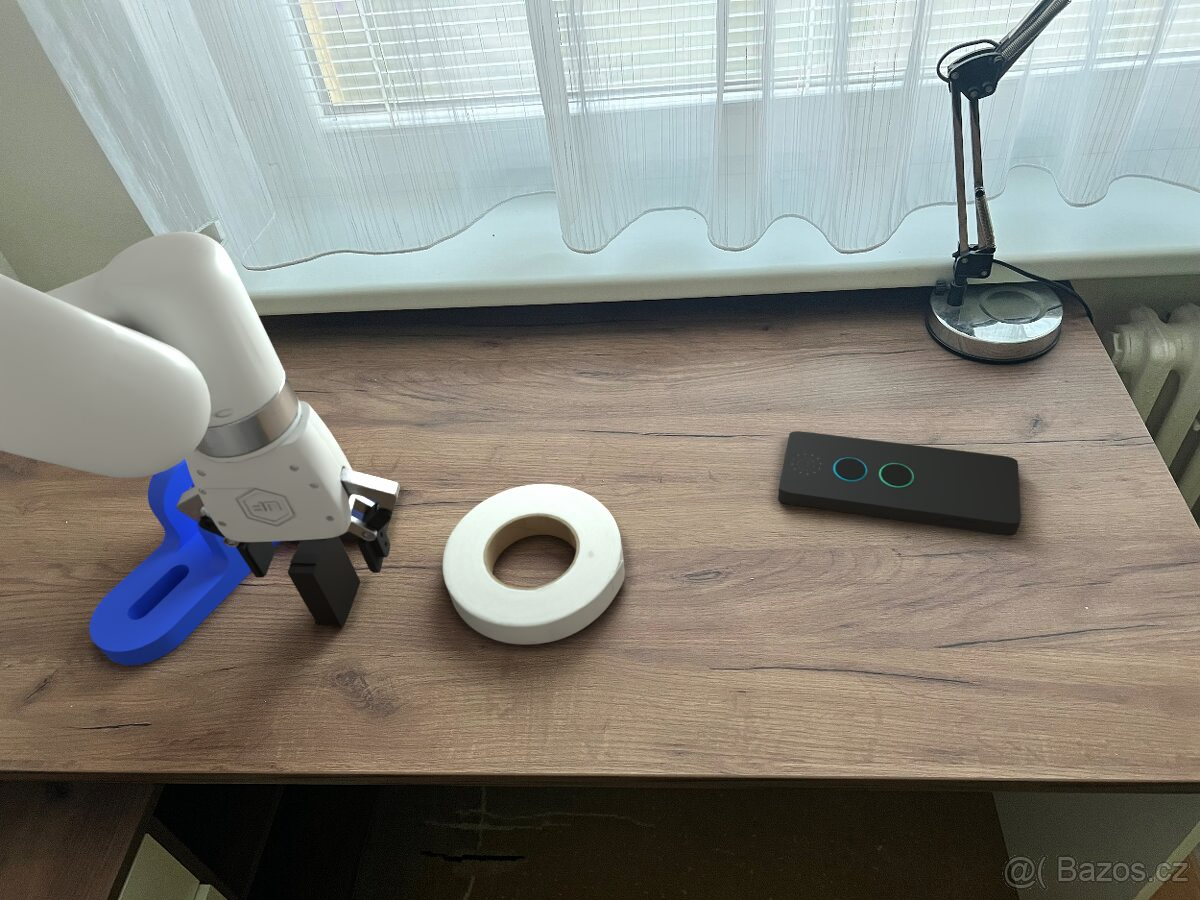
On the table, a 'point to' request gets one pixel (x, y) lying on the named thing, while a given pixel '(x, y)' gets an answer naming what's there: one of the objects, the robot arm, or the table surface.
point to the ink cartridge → (325, 579)
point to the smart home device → (902, 482)
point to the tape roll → (545, 606)
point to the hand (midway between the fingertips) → (322, 561)
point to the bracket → (167, 582)
